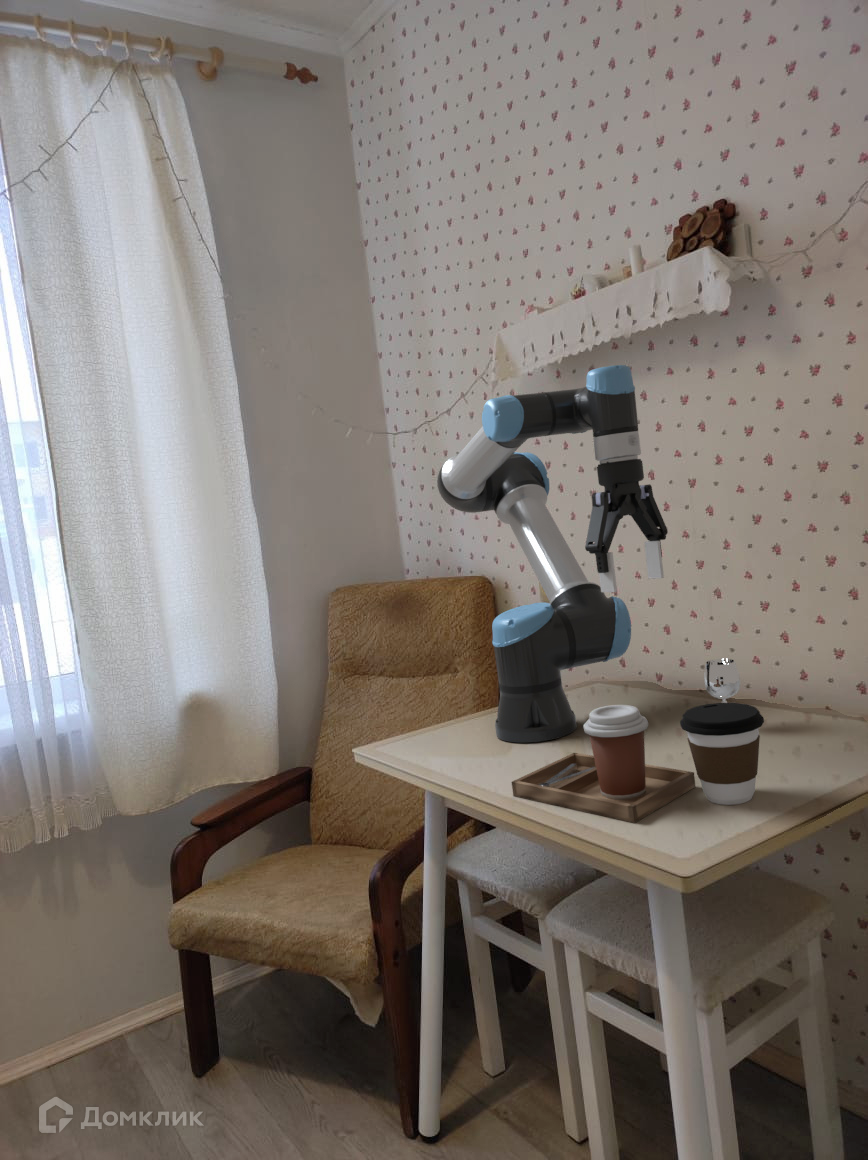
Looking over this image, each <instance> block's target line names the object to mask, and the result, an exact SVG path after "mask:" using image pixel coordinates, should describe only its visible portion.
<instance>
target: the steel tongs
mask: <svg viewBox="0 0 868 1160" xmlns="http://www.w3.org/2000/svg"><path fill="white" fill-rule="evenodd" d="M593 768H595V767H592V768H589V769H586V770H583V771H580V772H578V773H575V774H573V773H574V772H575V771H577V764H571V765H569V766H568V767H566V768H565V769H564V770H562V771H561V772H559V773H558V774H557V775H555V776H554V777H552V778H551V779H550V780H548V781H547V782H545V783H541V784H539V785H541V786H546V787H550V788H555V787H557V786H559V785H561V784H563V783H565V782H567V781H569V780H571V779H573V778H575V777H577V776H579V775H581V774H583V773H585V772H587V771H589V770H591V769H593ZM571 774H572V775H571Z"/></svg>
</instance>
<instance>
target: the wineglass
mask: <svg viewBox="0 0 868 1160" xmlns="http://www.w3.org/2000/svg"><path fill="white" fill-rule="evenodd" d="M703 674H704V675H703V678H704V680H703V682H704V687H705V690H706V692H707V693H708V695H710V696H711V697H713V698H716V699H720V700H722V701H721V703H728V701H727V699H730V698H732V697H734V696H736V695H737V694H738V692H739V691H740V687H741V679H740V678H741V677H740V673H739V670H738V667H737V665H736V661H735V660H734V659H731V658H716V659H710V660H707V661H706V662H705V666H704V673H703Z"/></svg>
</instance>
